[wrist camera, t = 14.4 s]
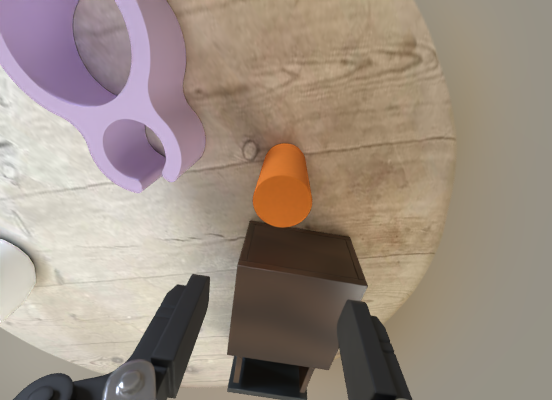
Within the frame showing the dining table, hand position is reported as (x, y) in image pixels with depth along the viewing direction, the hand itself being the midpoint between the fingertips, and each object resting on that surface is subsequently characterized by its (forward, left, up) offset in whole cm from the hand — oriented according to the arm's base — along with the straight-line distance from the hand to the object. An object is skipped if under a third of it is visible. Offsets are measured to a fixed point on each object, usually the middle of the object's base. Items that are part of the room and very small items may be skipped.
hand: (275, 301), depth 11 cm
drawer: (+11, +27, -19) cm, 35 cm away
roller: (0, 0, -20) cm, 20 cm away
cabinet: (+5, +16, -20) cm, 26 cm away
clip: (+11, -14, -20) cm, 27 cm away
